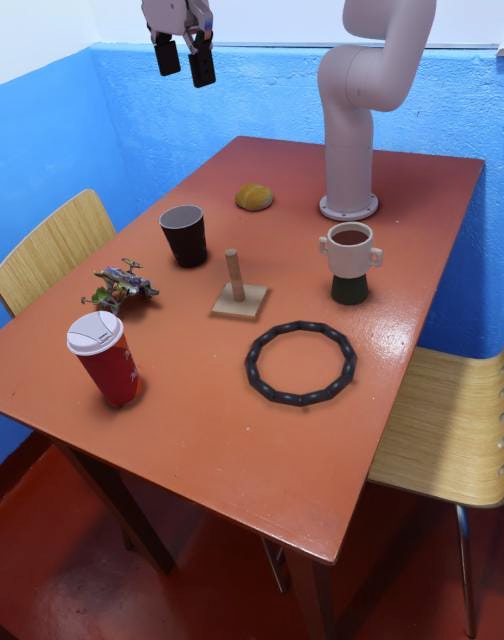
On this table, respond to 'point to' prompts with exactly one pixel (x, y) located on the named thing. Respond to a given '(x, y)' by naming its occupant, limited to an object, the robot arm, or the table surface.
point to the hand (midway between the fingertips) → (187, 79)
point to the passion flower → (120, 286)
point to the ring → (306, 398)
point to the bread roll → (254, 197)
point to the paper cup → (105, 356)
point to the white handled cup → (350, 260)
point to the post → (238, 292)
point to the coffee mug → (185, 234)
